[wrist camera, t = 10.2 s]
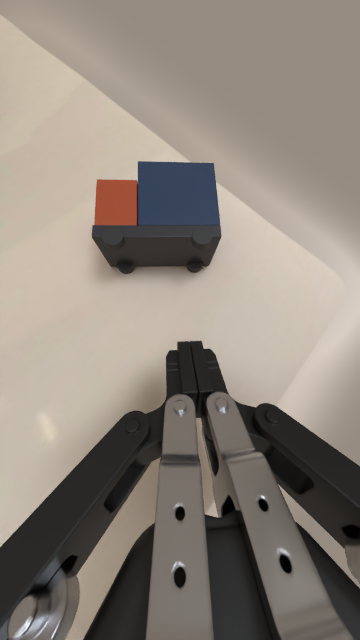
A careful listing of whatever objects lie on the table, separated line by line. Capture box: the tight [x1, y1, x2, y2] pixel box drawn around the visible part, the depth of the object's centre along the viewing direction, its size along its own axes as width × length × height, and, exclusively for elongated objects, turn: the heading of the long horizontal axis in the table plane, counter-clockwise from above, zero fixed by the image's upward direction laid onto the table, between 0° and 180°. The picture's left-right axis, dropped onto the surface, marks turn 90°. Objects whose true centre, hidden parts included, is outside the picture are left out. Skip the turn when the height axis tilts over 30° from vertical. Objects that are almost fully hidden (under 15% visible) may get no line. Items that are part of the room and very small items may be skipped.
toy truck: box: [92, 161, 221, 274], centre depth 18 cm, size 11×5×9 cm
